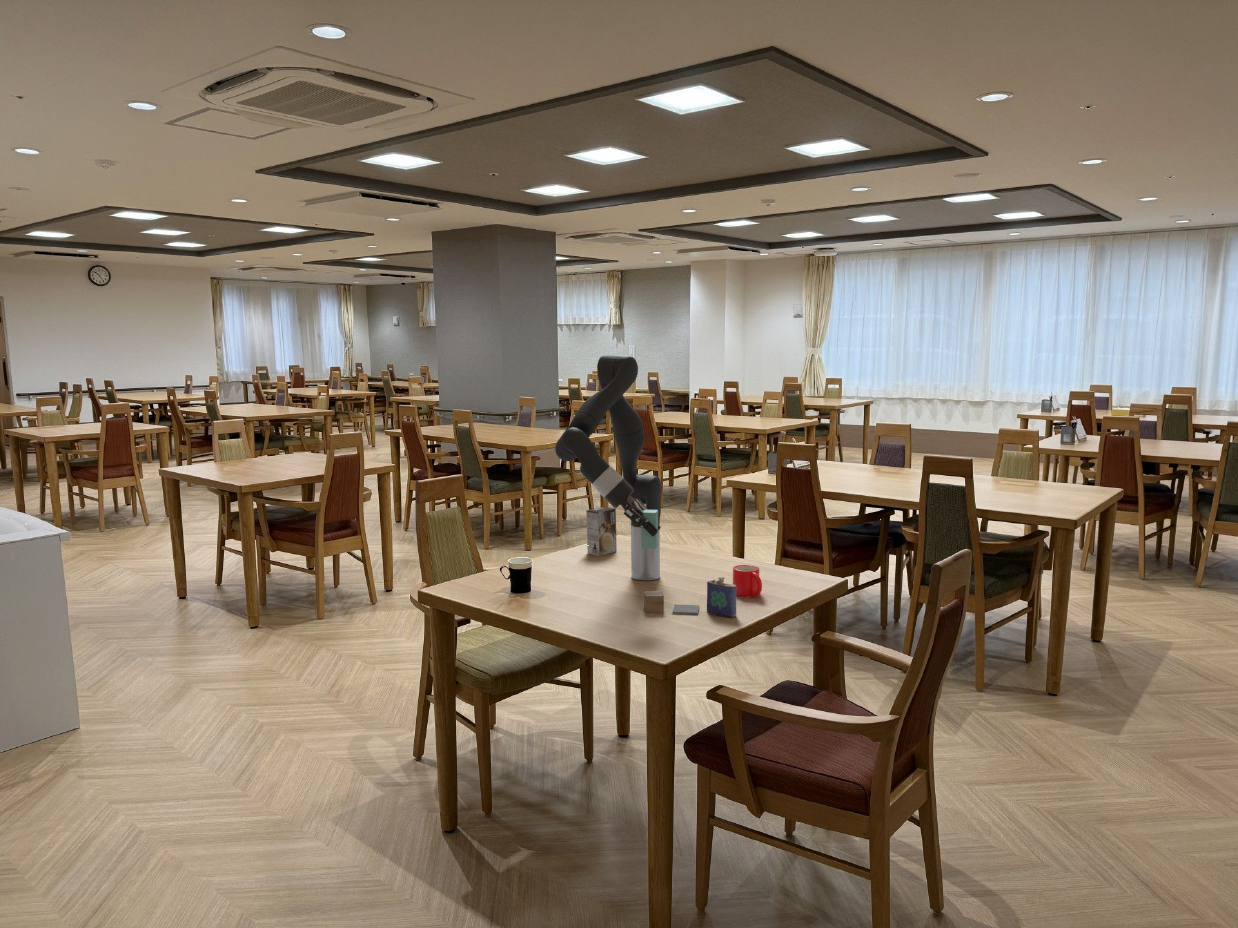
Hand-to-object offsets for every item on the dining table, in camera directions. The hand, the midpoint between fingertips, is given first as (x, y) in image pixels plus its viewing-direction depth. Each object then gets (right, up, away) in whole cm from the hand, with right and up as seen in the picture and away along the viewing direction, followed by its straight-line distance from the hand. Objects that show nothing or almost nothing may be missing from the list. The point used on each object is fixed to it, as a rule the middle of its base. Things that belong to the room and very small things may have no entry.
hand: (656, 531), depth 236 cm
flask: (+18, -24, +5) cm, 30 cm away
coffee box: (-16, -14, +77) cm, 80 cm away
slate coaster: (+9, -23, +9) cm, 27 cm away
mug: (+29, -21, +23) cm, 42 cm away
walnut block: (0, -23, +10) cm, 25 cm away
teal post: (-2, -4, +1) cm, 5 cm away
